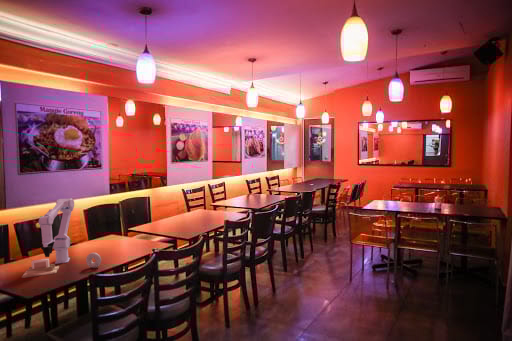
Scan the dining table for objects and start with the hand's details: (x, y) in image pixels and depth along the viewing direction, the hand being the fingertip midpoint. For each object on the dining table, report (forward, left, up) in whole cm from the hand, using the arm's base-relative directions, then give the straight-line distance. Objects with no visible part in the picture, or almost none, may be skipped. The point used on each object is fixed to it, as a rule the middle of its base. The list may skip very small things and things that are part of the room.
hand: (48, 255), depth 221 cm
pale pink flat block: (+4, -4, -8) cm, 10 cm away
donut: (+10, +27, -10) cm, 30 cm away
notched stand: (+4, -4, -9) cm, 11 cm away
